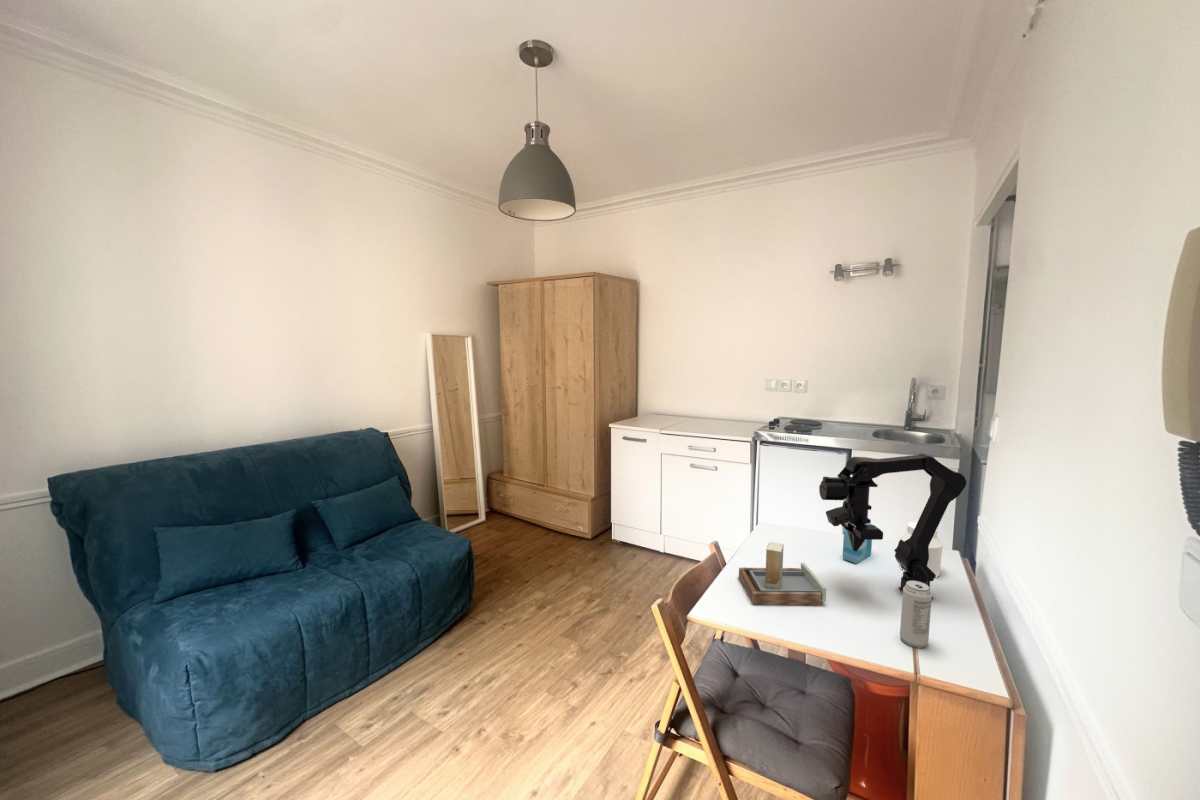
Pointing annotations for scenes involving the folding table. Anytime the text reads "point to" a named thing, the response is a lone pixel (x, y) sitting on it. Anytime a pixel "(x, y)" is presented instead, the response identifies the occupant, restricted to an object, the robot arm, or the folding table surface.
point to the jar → (934, 549)
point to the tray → (790, 581)
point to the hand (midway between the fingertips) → (854, 550)
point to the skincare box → (774, 565)
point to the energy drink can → (915, 614)
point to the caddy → (777, 593)
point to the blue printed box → (855, 555)
